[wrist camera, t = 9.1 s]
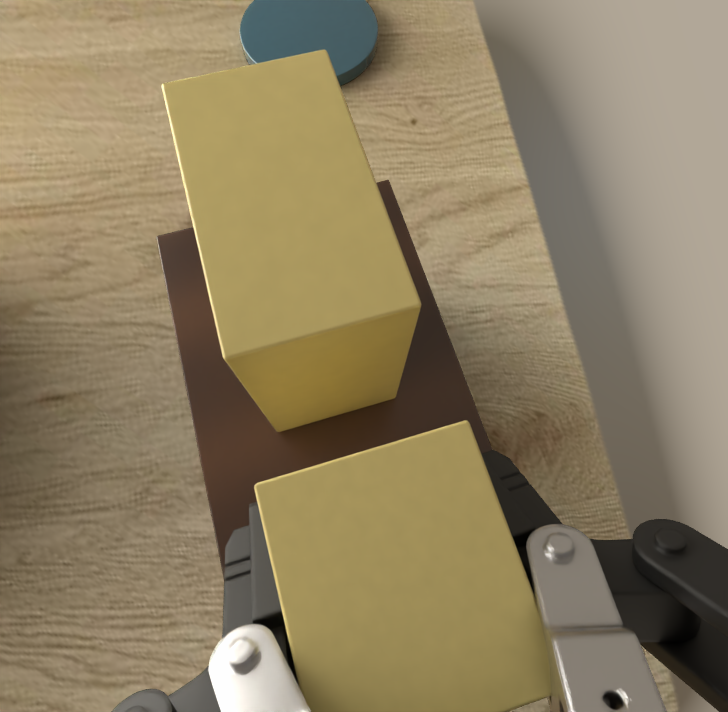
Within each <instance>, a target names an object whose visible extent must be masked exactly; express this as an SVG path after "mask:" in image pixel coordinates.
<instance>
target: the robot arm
mask: <svg viewBox="0 0 728 712" xmlns="http://www.w3.org/2000/svg"><path fill="white" fill-rule="evenodd" d="M481 455H482V458H483V460H484V463H485V466H486V468H487V471H488V474H489V476H490V479H491V481H492V484H493V487H494V489H495V492H496V495H497V497H498V500H499V503H500V505H501V508H502V511H503V513H504V516H505V519H506V521H507V524H508V527H509V529H510V532H511V535H512V537H513V540H514V543H515V545H516V548H517V551H518V553H519V556H520V559H521V561H522V564H523V567H524V569H525V572H526V575H527V577H528V580H529V583H530V585H531V588H532V591H533V593H534V596H535V599H536V603H537V608H538V612H539V616H540V621H541V625H542V629H543V634H544V638H545V643H546V648H547V653H548V660H549V667H550V683H551V696H549V697H547V698H548V703H549V708H550V712H667V711H666V708H665V706H664V703H663V701H662V698H661V696H660V693H659V691H658V688H657V686H656V683H655V681H654V678H653V675H652V673H651V670H650V668H649V665H648V663H647V660H646V658H645V655H644V653H643V650H642V648H641V646H643V647H644V648H645V649H646V650H647V651H648V652H650V653H651V654H652V655H653V656H654V657H655V658H657V659H658V660H659V661H660V662H661V663H663V664H664V665H665V666H666V667H667V668H668V669H670V670H671V671H672V672H673V673H674V674H676V675H677V676H678V677H679V678H680V679H681V680H683V681H684V682H685V683H686V684H687V685H689V686H690V687H691V688H692V689H693V690H695V691H696V692H697V693H698V694H699V695H700V696H701V697H703V698H704V699H705V700H706V701H707V702H708V703H710V704H711V705H712V706H713V707H714V708H716V709H717V710H718V711H719V712H728V549H726V548H725V547H722V546H721V545H720V544H718V543H716V542H714V541H713V540H711V539H710V538H708V537H706V536H704V535H703V534H701V533H699V532H698V531H696V530H694V529H693V528H691V527H689V526H687V525H685V524H682V523H680V522H676V521H673V520H667V519H655V520H649V521H646V522H644V523H642V524H640V525H639V526H638V527H637V528H636V530H635V531H634V534H633V539H624V540H594V539H589V538H588V537H587V536H586V535H585V534H584V533H582V532H581V531H579V530H577V529H575V528H573V527H570V526H566V525H563V524H562V523H561V522H560V520H559V519H558V518H557V517H556V516H555V514H554V513H553V512H552V511H551V509H550V508H549V507H548V506H547V504H546V503H545V502H544V501H543V499H542V498H541V497H540V496H539V494H538V493H537V492H536V491H535V489H534V488H533V487H532V486H531V484H530V485H529V483H528V481H527V479H526V478H525V477H524V476H523V475H522V474H521V473H520V471H519V470H518V468H517V467H516V466H515V465H514V463H513V462H512V461H511V460H510V459H509V458H508V457H506V456H504V455H502V454H500V453H499V452H497V451H495V450H491V451H488V452H485V453H481ZM224 579H225V582H224V605H223V635H222V640H221V641H220V642H219V643H218V644H217V646H216V647H215V649H214V651H213V653H212V655H211V658H210V662H209V666H208V667H207V668H206V669H205V670H204V671H203V672H202V673H201V674H200V675H198V676H197V677H196V678H194V679H193V680H192V681H190V682H189V683H187V684H186V685H184V686H183V687H181V688H180V689H178V690H177V691H175V692H174V693H172V694H171V695H169V696H167V695H166V694H165V693H164V692H162V691H160V690H157V689H146V690H142V691H139V692H136V693H134V694H132V695H131V696H129V697H127V698H126V699H125V700H123V701H122V702H121V703H120V704H118V705H117V706H116V707H115V708H114V709H113V711H112V712H311V711H310V709H309V707H308V705H307V702H306V700H305V698H304V696H303V694H302V692H301V690H300V688H299V684H298V680H297V675H296V671H295V666H294V662H293V658H292V653H291V649H290V644H289V640H288V636H287V631H286V627H285V622H284V618H283V613H282V609H281V605H280V600H279V596H278V591H277V587H276V583H275V578H274V574H273V569H272V565H271V560H270V556H269V552H268V547H267V543H266V538H265V534H264V530H263V525H262V521H261V516H260V512H259V507H258V503H257V502H254V503H251V504H249V525H248V526H245V527H241V528H238V529H235V530H234V531H233V533H232V535H231V537H230V539H229V541H228V543H227V545H226V547H225V572H224Z"/></svg>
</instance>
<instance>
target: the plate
mask: <svg viewBox="0 0 728 712" xmlns="http://www.w3.org/2000/svg"><path fill="white" fill-rule="evenodd" d="M240 39H241V43H242V48H243V52H244V55H245V57H246V60H247V61H248V63H249V64H250V65H253V64H257V63H262V62H267V61H271V60H276V59H281V58H286V57H290V56H295V55H300V54H305V53H309V52H314V51H319V50H326V51H327V53H328V55H329V58H330V61H331V63H332V66H333V69H334V71H335V74H336V77H337V79H338V82H339V85H340V86H341V85H344V84H346V83H348V82H350V81H351V80H353V79H355V78H356V77H357V76H359V75H360V74H361V73H362V72H363V71H364V70H365V69H366V68H367V67H368V66H369V64H370V63H371V61H372V60H373V58H374V56H375V53H376V50H377V45H378V23H377V19H376V16H375V14H374V12H373V10H372V8H371V7H370V5H369V4H368V3H367V2H366V1H365V0H254V1H253V2H252V3H251V4H250V5H249V7H248V8H247V10H246V11H245V13H244V15H243V17H242V21H241V24H240Z"/></svg>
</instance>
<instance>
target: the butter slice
mask: <svg viewBox="0 0 728 712" xmlns="http://www.w3.org/2000/svg"><path fill="white" fill-rule="evenodd" d="M254 490H255V494H256V499H257V503H258V507H259V512H260V516H261V521H262V525H263V530H264V534H265V538H266V543H267V547H268V552H269V556H270V560H271V565H272V569H273V574H274V578H275V583H276V587H277V591H278V596H279V600H280V605H281V609H282V613H283V618H284V622H285V627H286V631H287V636H288V640H289V644H290V649H291V653H292V658H293V662H294V666H295V671H296V675H297V680H298V684H299V688H300V690H301V692H302V694H303V696H304V698H305V700H306V702H307V705H308V707H309V709H310V711H311V712H508V711H511V710H514V709H516V708H519V707H522V706H524V705H527V704H530V703H533V702H535V701H538V700H541V699H543V698H546V697H549V696H551V683H550V667H549V660H548V653H547V648H546V643H545V638H544V634H543V629H542V625H541V621H540V616H539V612H538V608H537V603H536V599H535V596H534V593H533V591H532V588H531V585H530V583H529V580H528V577H527V575H526V572H525V569H524V567H523V564H522V561H521V559H520V556H519V553H518V551H517V548H516V545H515V543H514V540H513V537H512V535H511V532H510V529H509V527H508V524H507V521H506V519H505V516H504V513H503V511H502V508H501V505H500V503H499V500H498V497H497V495H496V492H495V489H494V487H493V484H492V481H491V479H490V476H489V474H488V471H487V468H486V466H485V463H484V460H483V458H482V455H481V452H480V450H479V447H478V444H477V442H476V439H475V436H474V434H473V431H472V428H471V426H470V423H469V422H468V421H465V420H464V421H461V422H458V423H454V424H451V425H448V426H444V427H441V428H438V429H434V430H431V431H428V432H424V433H421V434H418V435H414V436H411V437H408V438H405V439H401V440H398V441H395V442H391V443H388V444H385V445H381V446H378V447H375V448H371V449H368V450H365V451H361V452H358V453H355V454H352V455H348V456H345V457H342V458H338V459H335V460H332V461H328V462H325V463H322V464H318V465H315V466H312V467H308V468H305V469H302V470H299V471H295V472H292V473H289V474H285V475H282V476H279V477H275V478H272V479H269V480H265V481H262V482H259V483H257V484H255V486H254Z"/></svg>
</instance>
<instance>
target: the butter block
mask: <svg viewBox="0 0 728 712" xmlns="http://www.w3.org/2000/svg"><path fill="white" fill-rule="evenodd" d="M162 91H163V95H164V100H165V104H166V109H167V113H168V117H169V122H170V126H171V131H172V135H173V139H174V144H175V148H176V153H177V157H178V162H179V166H180V170H181V175H182V179H183V184H184V188H185V192H186V197H187V201H188V206H189V210H190V214H191V219H192V223H193V228H194V232H195V237H196V241H197V245H198V250H199V254H200V259H201V263H202V267H203V272H204V276H205V281H206V285H207V290H208V294H209V298H210V303H211V307H212V312H213V316H214V320H215V325H216V329H217V334H218V338H219V342H220V347H221V351H222V356H223V359H224V360H225V361H226V363H227V364H228V365H229V367H230V368H231V370H232V371H233V372H234V374H235V375H236V376H237V378H238V379H239V381H240V382H241V383H242V385H243V386H244V387H245V389H246V390H247V392H248V393H249V394H250V396H251V397H252V398H253V400H254V401H255V403H256V404H257V405H258V407H259V408H260V409H261V411H262V412H263V414H264V415H265V416H266V418H267V419H268V420H269V422H270V423H271V425H272V426H273V427H274V429H275V430H276V431H277V432H281V431H285V430H288V429H292V428H295V427H299V426H302V425H305V424H309V423H312V422H316V421H319V420H322V419H326V418H329V417H333V416H336V415H339V414H343V413H346V412H350V411H353V410H357V409H360V408H363V407H367V406H370V405H374V404H377V403H380V402H384V401H387V400H391V399H394V398H395V397H396V395H397V391H398V387H399V384H400V380H401V377H402V373H403V370H404V366H405V362H406V359H407V355H408V352H409V348H410V345H411V341H412V337H413V334H414V330H415V327H416V323H417V320H418V316H419V312H420V309H421V301H420V299H419V296H418V293H417V291H416V288H415V285H414V283H413V280H412V277H411V275H410V272H409V269H408V267H407V264H406V261H405V258H404V256H403V253H402V250H401V248H400V245H399V242H398V240H397V237H396V234H395V232H394V229H393V226H392V224H391V221H390V218H389V216H388V213H387V210H386V208H385V205H384V202H383V200H382V197H381V194H380V192H379V189H378V186H377V184H376V181H375V178H374V176H373V173H372V170H371V168H370V165H369V162H368V159H367V157H366V154H365V151H364V149H363V146H362V143H361V141H360V138H359V135H358V133H357V130H356V127H355V125H354V122H353V119H352V117H351V114H350V111H349V109H348V106H347V103H346V101H345V98H344V95H343V93H342V90H341V87H340V85H339V82H338V79H337V77H336V74H335V71H334V69H333V66H332V63H331V61H330V58H329V55H328V53H327V51H326V50H319V51H314V52H309V53H305V54H300V55H295V56H290V57H286V58H281V59H276V60H271V61H267V62H262V63H257V64H253V65H248V66H243V67H238V68H234V69H229V70H224V71H219V72H215V73H210V74H205V75H200V76H196V77H191V78H186V79H182V80H177V81H172V82H167V83H164V84H162Z"/></svg>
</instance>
